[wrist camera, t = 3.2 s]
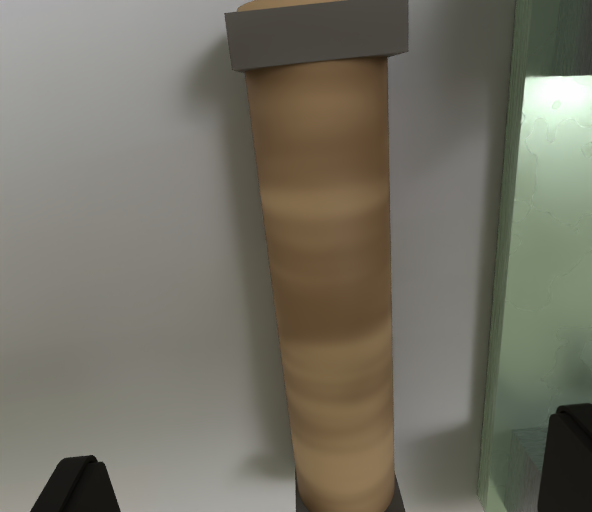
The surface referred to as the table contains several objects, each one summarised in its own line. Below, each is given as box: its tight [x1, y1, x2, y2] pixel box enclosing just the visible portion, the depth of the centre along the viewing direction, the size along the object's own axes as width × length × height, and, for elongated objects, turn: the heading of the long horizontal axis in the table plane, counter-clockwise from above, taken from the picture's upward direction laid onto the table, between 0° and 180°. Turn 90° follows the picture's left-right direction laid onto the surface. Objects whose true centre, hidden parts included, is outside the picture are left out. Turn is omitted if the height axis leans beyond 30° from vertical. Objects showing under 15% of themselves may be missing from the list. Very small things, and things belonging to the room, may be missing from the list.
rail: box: [224, 0, 408, 512], centre depth 15 cm, size 19×4×4 cm, turn 5°
